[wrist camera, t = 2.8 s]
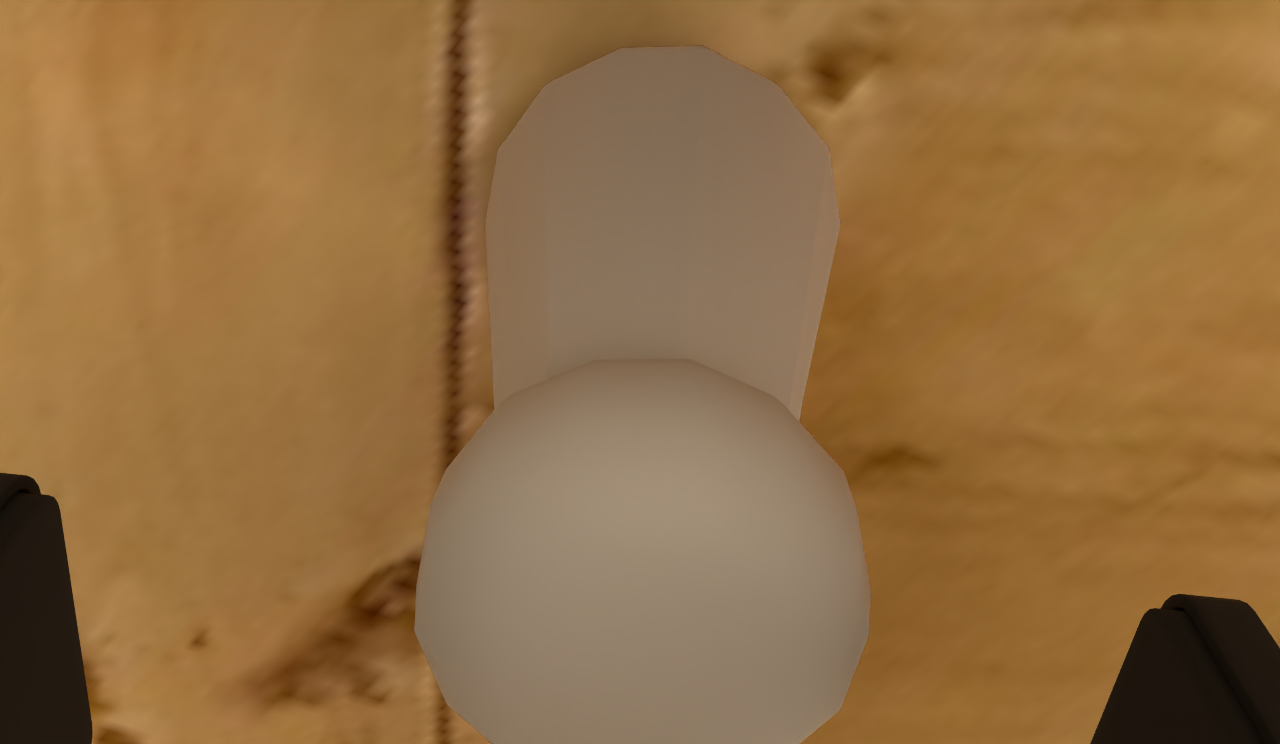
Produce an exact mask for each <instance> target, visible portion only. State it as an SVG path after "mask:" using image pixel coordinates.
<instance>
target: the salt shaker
mask: <svg viewBox="0 0 1280 744" xmlns="http://www.w3.org/2000/svg"><path fill="white" fill-rule="evenodd" d="M840 224H841V223H840V217H839V210H838V203H837V197H836V190H835V184H834V177H833V171H832V164H831V157H830V151H829V147H828V146H827V145H826V144H825V142H824V141H823V140H822V139H821V137H820V136H819V135H818V134H817V132H816V131H815V130H814V129H813V128H812V126H811V125H810V124H809V123H808V121H807V120H806V119H805V118H804V116H803V115H802V114H801V113H800V111H799V110H798V109H797V108H796V106H795V105H794V104H793V103H792V102H791V100H790V99H789V98H788V97H787V95H786V94H785V93H784V92H783V90H782V89H781V88H780V87H779V86H778V85H777V84H776V83H774V82H773V81H771V80H769V79H767V78H765V77H763V76H761V75H759V74H757V73H755V72H753V71H751V70H749V69H747V68H746V67H744V66H742V65H740V64H738V63H736V62H734V61H732V60H730V59H728V58H726V57H724V56H722V55H720V54H718V53H716V52H714V51H712V50H710V49H708V48H706V47H704V46H702V45H696V46H663V47H630V48H619V49H617V50H615V51H613V52H611V53H609V54H607V55H605V56H603V57H601V58H599V59H596V60H594V61H592V62H590V63H588V64H586V65H584V66H582V67H580V68H578V69H575V70H573V71H571V72H569V73H567V74H565V75H563V76H561V77H559V78H557V79H555V80H552V81H550V82H549V83H548V84H546V85H545V86H544V87H543V88H542V90H541V91H540V92H539V94H538V95H537V96H536V98H535V99H534V101H533V102H532V103H531V105H530V106H529V108H528V109H527V110H526V112H525V113H524V115H523V116H522V117H521V119H520V120H519V121H518V123H517V124H516V126H515V127H514V128H513V130H512V131H511V133H510V134H509V135H508V137H507V138H506V140H505V141H504V142H503V144H502V145H501V147H500V148H499V149H498V151H497V156H496V162H495V168H494V174H493V180H492V186H491V192H490V198H489V204H488V210H487V216H486V222H485V232H486V252H487V273H488V293H489V313H490V334H491V354H492V375H493V395H494V411H493V412H492V413H491V415H490V416H489V417H488V418H487V419H486V421H485V422H484V423H483V424H482V426H481V427H480V428H479V429H478V431H477V432H476V433H475V434H474V435H473V437H472V438H471V439H470V440H469V442H468V443H467V444H466V445H465V447H464V448H463V449H462V450H461V451H460V453H459V454H458V455H457V456H456V458H455V459H454V460H453V461H452V463H451V464H450V465H449V466H448V467H447V469H446V470H445V472H444V475H443V477H442V479H441V482H440V484H439V486H438V489H437V491H436V493H435V496H434V498H433V500H432V503H431V505H430V509H429V515H428V521H427V527H426V533H425V539H424V544H423V550H422V556H421V562H420V568H419V574H418V580H417V586H416V609H415V634H416V637H417V639H418V641H419V643H420V646H421V648H422V650H423V652H424V655H425V657H426V659H427V661H428V663H429V666H430V668H431V670H432V672H433V675H434V677H435V679H436V681H437V684H438V686H439V688H440V690H441V692H442V695H443V697H444V699H445V701H446V704H447V705H448V706H449V707H450V708H451V709H452V710H454V711H455V712H456V713H457V714H458V715H459V716H460V717H462V718H463V719H464V720H465V721H466V722H467V723H469V724H470V725H471V726H472V727H473V728H474V729H475V730H477V731H478V732H479V733H480V734H481V735H482V736H484V737H485V738H486V739H487V740H488V741H489V742H490V743H492V744H800V743H801V742H802V741H803V740H805V739H806V738H807V737H808V736H810V735H811V734H812V733H813V732H814V731H816V730H817V729H818V728H819V727H820V726H822V725H823V724H824V723H825V722H827V721H828V720H829V719H830V718H831V717H833V716H834V715H835V714H836V713H837V712H839V711H840V710H841V707H842V704H843V702H844V699H845V697H846V694H847V691H848V689H849V686H850V683H851V681H852V678H853V676H854V673H855V670H856V668H857V665H858V663H859V660H860V657H861V655H862V652H863V649H864V647H865V644H866V642H867V639H868V634H869V616H870V599H871V588H870V582H869V577H868V571H867V565H866V560H865V554H864V548H863V543H862V537H861V531H860V526H859V520H858V514H857V509H856V506H855V503H854V500H853V497H852V494H851V491H850V488H849V485H848V482H847V479H846V476H845V473H844V471H843V470H842V469H841V468H840V467H839V465H838V464H837V463H836V462H835V461H834V460H833V459H832V458H831V457H830V455H829V454H828V453H827V452H826V451H825V450H824V449H823V448H822V447H821V445H820V444H819V443H818V442H817V441H816V440H815V439H814V438H813V436H812V435H811V434H810V433H809V432H808V431H807V430H806V429H805V428H804V426H803V425H802V424H801V423H800V422H799V420H800V414H801V408H802V402H803V397H804V393H805V388H806V383H807V379H808V374H809V369H810V365H811V360H812V355H813V351H814V346H815V341H816V336H817V332H818V327H819V322H820V318H821V313H822V308H823V304H824V299H825V294H826V290H827V285H828V280H829V276H830V271H831V266H832V262H833V257H834V252H835V248H836V243H837V238H838V234H839V229H840Z"/></svg>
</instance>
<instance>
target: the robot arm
mask: <svg viewBox="0 0 1280 744" xmlns="http://www.w3.org/2000/svg"><path fill="white" fill-rule="evenodd" d="M91 743H92V721H91V714H90V707H89V701H88V694H87V687H86V681H85V674H84V667H83V660H82V654H81V647H80V640H79V634H78V627H77V620H76V614H75V607H74V600H73V594H72V587H71V580H70V574H69V567H68V560H67V554H66V547H65V540H64V533H63V527H62V520H61V513H60V509H59V505H58V502H57V501H56V499H55V498H54V497H52V496H50V495H41V493H40V489H39V486H38V484H37V483H36V481H35V480H34V479H33V478H31V477H29V476H26V475H16V474H6V473H0V744H91ZM1091 744H1280V648H1279V647H1278V645H1277V644H1276V642H1275V641H1274V639H1273V638H1272V636H1271V635H1270V633H1269V632H1268V630H1267V629H1266V627H1265V626H1264V624H1263V623H1262V621H1261V620H1260V618H1259V617H1258V615H1257V614H1256V612H1255V611H1254V610H1253V609H1252V608H1251V607H1250V606H1249V605H1248V604H1247V603H1245V602H1243V601H1240V600H1234V599H1224V598H1214V597H1204V596H1195V595H1185V594H1177V595H1172V596H1171V597H1170V598H1168V599H1167V600H1166V601H1165V602H1164V604H1163V606H1162V608H1161V609H1157V608H1154V609H1149V610H1148V611H1147V612H1146V613H1145V614H1144V616H1143V618H1142V619H1141V621H1140V624H1139V626H1138V628H1137V631H1136V633H1135V636H1134V638H1133V641H1132V643H1131V646H1130V648H1129V651H1128V653H1127V655H1126V658H1125V660H1124V663H1123V665H1122V668H1121V670H1120V673H1119V675H1118V677H1117V680H1116V682H1115V685H1114V687H1113V690H1112V692H1111V695H1110V697H1109V700H1108V702H1107V704H1106V707H1105V709H1104V712H1103V714H1102V717H1101V719H1100V722H1099V724H1098V727H1097V729H1096V731H1095V734H1094V736H1093V739H1092V741H1091Z"/></svg>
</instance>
